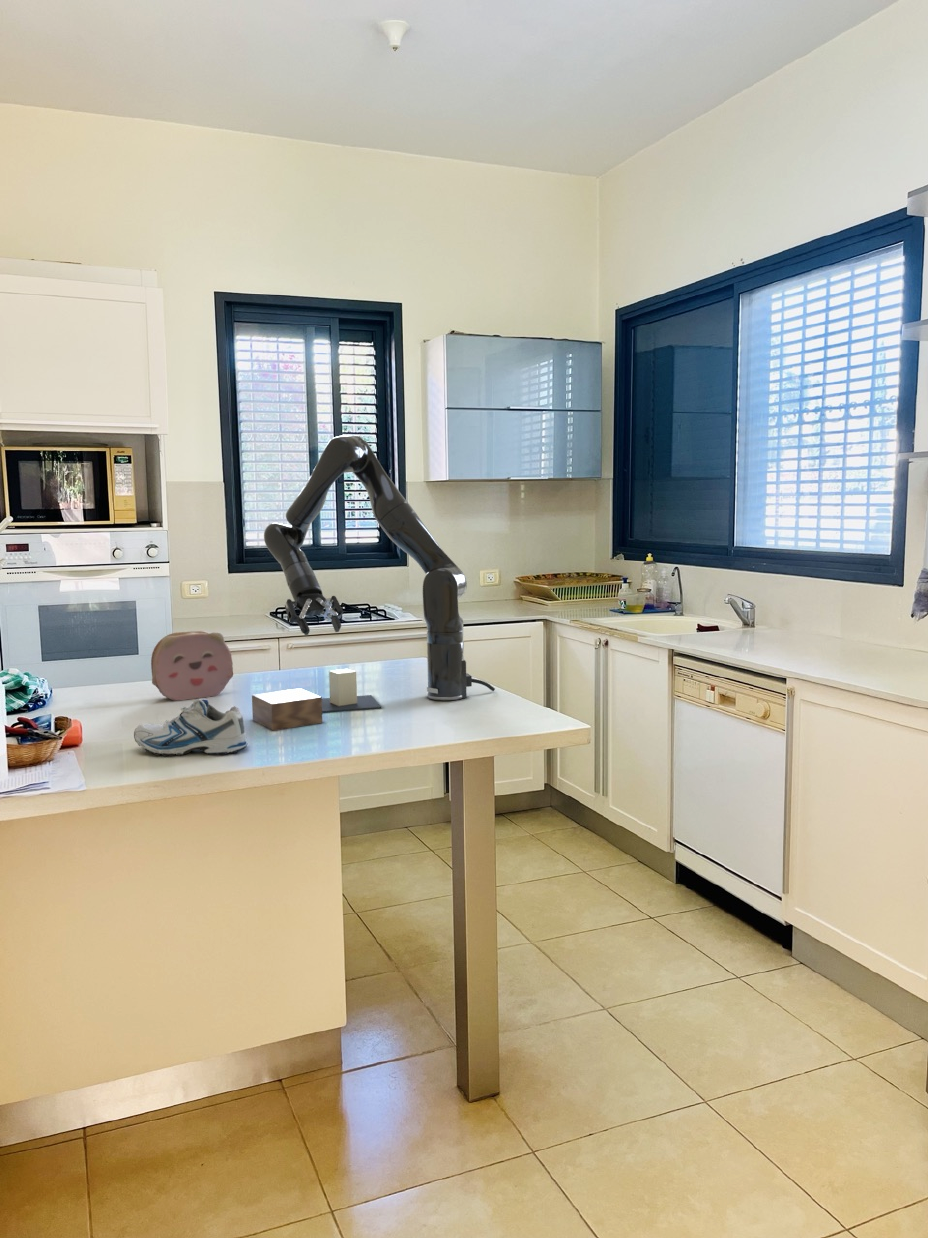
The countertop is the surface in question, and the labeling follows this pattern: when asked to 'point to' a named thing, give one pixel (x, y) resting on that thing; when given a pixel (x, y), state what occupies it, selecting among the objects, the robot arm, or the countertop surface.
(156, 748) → the athletic shoe
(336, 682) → the cream box
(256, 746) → the countertop surface
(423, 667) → the countertop surface
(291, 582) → the robot arm
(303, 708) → the brown box
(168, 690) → the face sculpture
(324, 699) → the rubber mat
